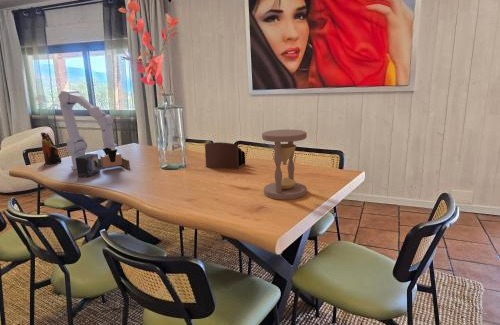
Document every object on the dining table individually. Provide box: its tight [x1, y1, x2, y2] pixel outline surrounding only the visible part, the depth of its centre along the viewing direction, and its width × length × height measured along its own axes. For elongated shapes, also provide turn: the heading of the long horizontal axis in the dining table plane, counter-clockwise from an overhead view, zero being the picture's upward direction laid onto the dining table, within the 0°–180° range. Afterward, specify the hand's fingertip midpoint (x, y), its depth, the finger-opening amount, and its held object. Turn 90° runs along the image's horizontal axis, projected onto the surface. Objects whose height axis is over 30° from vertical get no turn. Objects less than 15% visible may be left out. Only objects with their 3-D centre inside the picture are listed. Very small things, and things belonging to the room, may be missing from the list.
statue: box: [40, 131, 62, 165], centre depth 214 cm, size 12×8×20 cm, turn 49°
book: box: [99, 152, 123, 168], centre depth 192 cm, size 5×10×6 cm, turn 128°
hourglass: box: [261, 129, 308, 201], centre depth 138 cm, size 18×18×25 cm
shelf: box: [98, 156, 131, 170], centre depth 194 cm, size 17×14×5 cm
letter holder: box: [204, 141, 246, 170], centre depth 188 cm, size 10×20×14 cm, turn 69°
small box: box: [75, 153, 101, 178], centre depth 182 cm, size 11×6×10 cm, turn 168°
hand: (111, 161), depth 192 cm, fingers closed on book, 5 cm apart
